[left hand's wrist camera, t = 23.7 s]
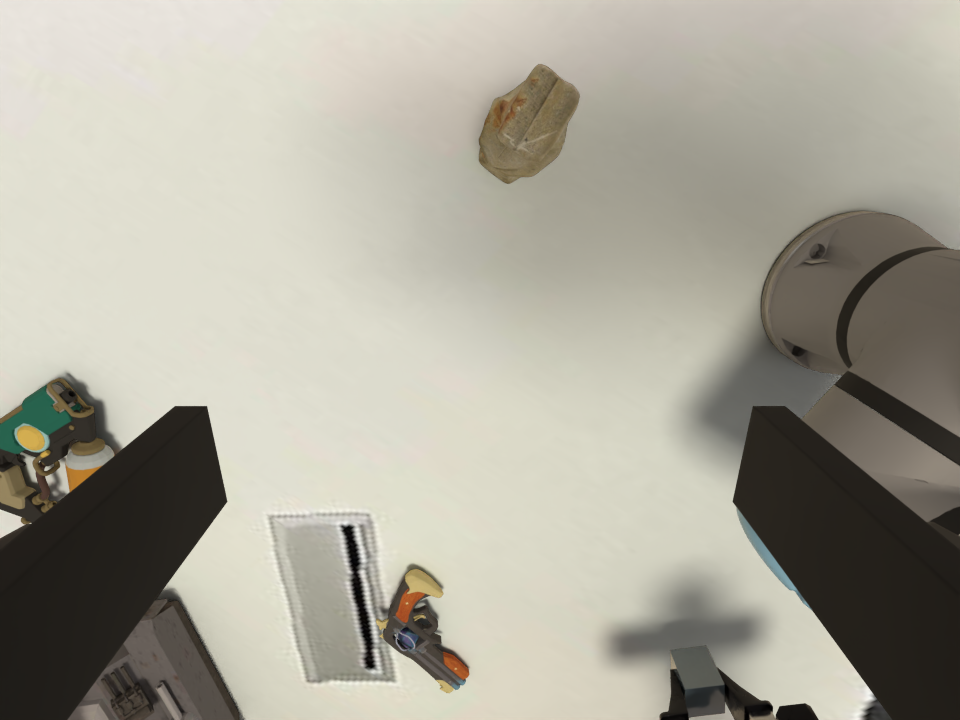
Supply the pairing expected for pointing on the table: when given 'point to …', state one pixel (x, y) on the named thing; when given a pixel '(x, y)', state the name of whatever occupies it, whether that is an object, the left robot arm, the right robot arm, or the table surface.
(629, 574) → the table surface
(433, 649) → the toy gun
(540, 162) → the sculpture
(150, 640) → the toy
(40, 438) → the spray gun
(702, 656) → the brick
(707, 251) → the table surface
